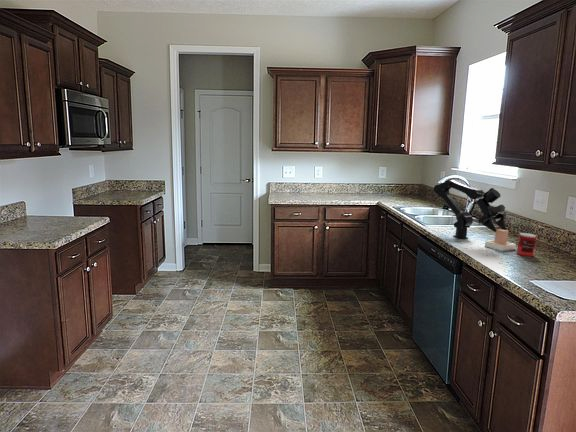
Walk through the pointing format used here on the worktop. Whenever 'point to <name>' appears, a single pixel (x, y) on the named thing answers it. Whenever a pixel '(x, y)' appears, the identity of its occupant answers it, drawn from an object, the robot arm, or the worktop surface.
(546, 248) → the worktop surface
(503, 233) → the terracotta block
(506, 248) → the tray
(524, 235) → the canned food
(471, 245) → the worktop surface
